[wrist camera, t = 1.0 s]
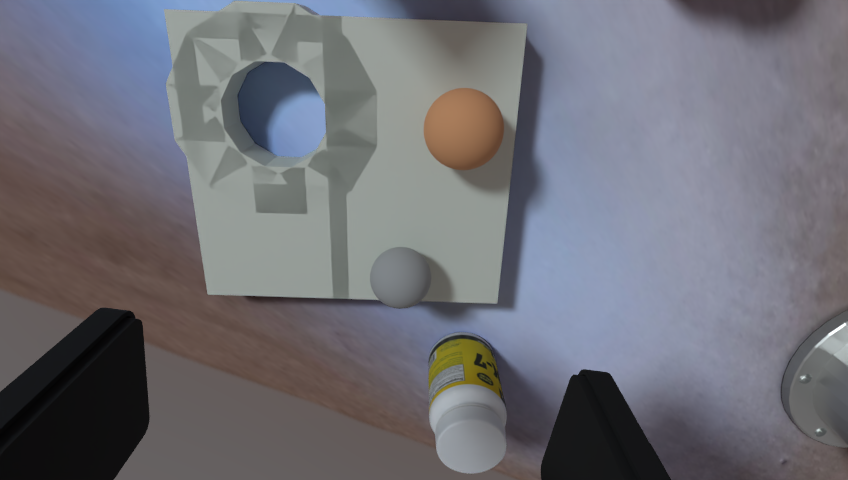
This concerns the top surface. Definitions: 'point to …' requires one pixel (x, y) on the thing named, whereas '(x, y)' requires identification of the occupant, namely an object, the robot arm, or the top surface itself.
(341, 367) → the top surface
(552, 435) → the robot arm
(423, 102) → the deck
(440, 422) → the supplement bottle
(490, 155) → the ball
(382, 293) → the grey ball
